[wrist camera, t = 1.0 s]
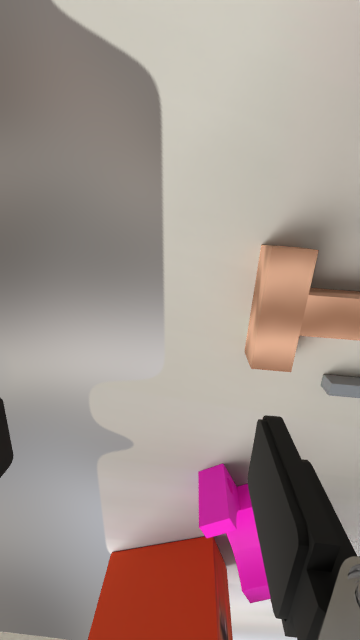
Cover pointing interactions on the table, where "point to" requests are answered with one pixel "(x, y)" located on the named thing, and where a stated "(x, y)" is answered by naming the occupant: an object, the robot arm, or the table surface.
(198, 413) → the table surface
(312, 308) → the T block
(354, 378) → the T outline
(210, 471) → the toy block
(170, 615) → the file binder
